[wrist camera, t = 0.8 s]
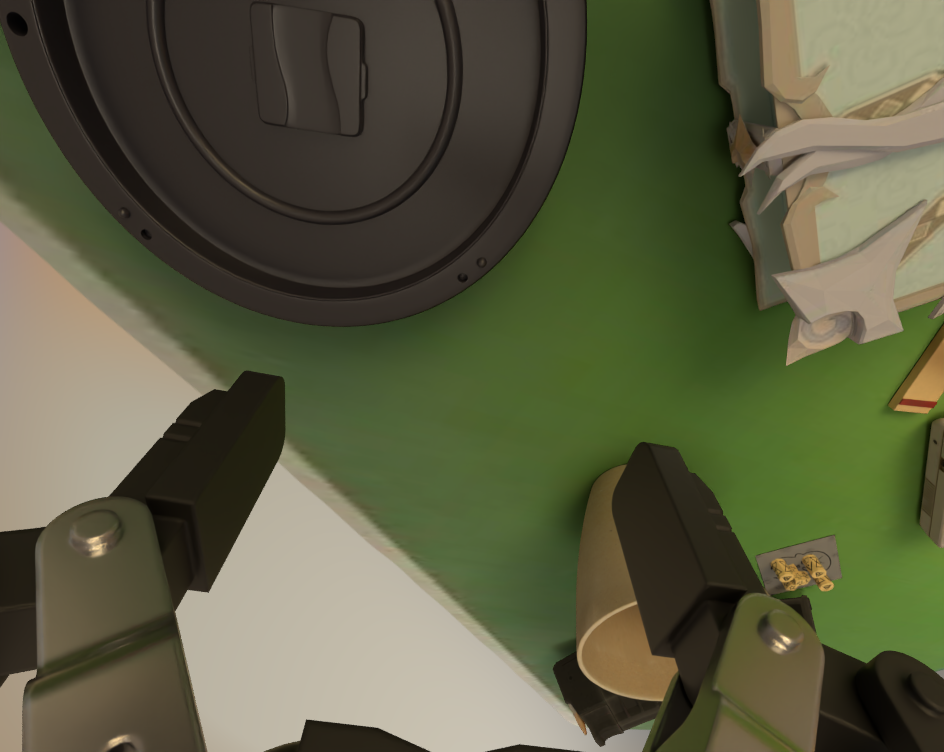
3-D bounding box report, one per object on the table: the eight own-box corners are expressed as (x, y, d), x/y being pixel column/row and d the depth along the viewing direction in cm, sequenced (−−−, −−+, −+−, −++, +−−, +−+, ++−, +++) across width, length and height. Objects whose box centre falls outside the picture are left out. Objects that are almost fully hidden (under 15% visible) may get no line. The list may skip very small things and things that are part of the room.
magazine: (878, 662, 46) (607, 816, 47) (881, 678, 47) (618, 827, 48) (748, 536, 61) (545, 655, 62) (753, 551, 63) (555, 667, 64)
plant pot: (533, 457, 46) (553, 615, 33) (693, 415, 43) (788, 570, 30) (573, 553, 53) (602, 715, 40) (712, 523, 50) (795, 687, 37)
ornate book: (1059, 202, 33) (1194, -526, 19) (1239, 249, 25) (1731, -961, 11) (722, 324, 39) (619, -154, 24) (783, 393, 31) (684, -253, 16)
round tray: (631, -271, 22) (-31, -368, 21) (674, -373, 17) (-192, -505, 16) (527, 315, 38) (143, 274, 37) (533, 351, 33) (89, 306, 32)
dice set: (769, 560, 53) (778, 576, 52) (819, 547, 52) (829, 563, 50) (776, 586, 56) (785, 601, 54) (824, 574, 54) (835, 589, 53)
